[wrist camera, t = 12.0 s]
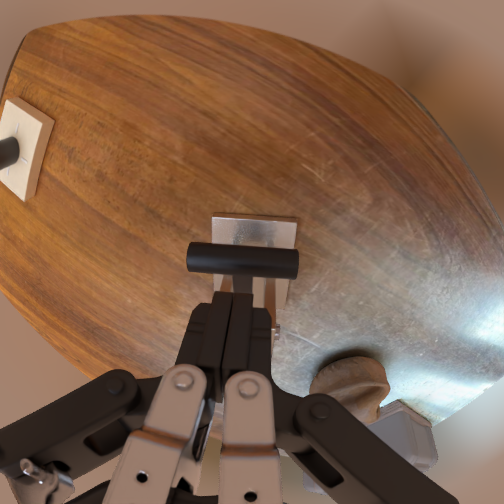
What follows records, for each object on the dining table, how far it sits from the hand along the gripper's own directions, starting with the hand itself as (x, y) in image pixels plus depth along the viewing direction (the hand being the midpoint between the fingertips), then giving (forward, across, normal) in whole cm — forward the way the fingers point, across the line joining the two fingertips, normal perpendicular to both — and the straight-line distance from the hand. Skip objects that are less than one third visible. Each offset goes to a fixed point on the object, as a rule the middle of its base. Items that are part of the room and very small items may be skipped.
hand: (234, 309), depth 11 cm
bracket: (+19, 0, +10) cm, 22 cm away
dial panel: (+19, +33, -6) cm, 39 cm away
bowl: (+20, -19, +32) cm, 42 cm away
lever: (+7, 0, +5) cm, 9 cm away
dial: (+17, +33, -6) cm, 38 cm away
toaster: (+20, -39, +68) cm, 81 cm away
